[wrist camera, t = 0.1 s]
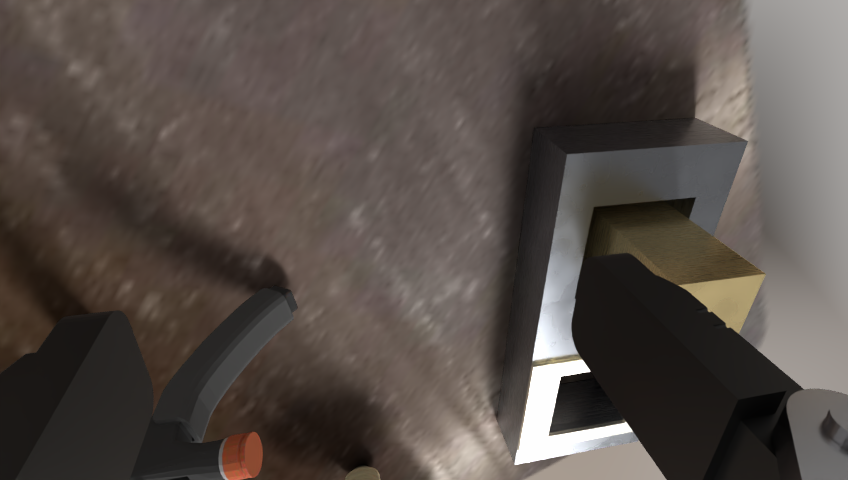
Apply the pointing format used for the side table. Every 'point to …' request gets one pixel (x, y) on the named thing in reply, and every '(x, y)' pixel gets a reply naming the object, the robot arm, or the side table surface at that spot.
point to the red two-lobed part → (363, 473)
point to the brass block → (678, 255)
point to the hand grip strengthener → (212, 399)
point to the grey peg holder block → (562, 258)
